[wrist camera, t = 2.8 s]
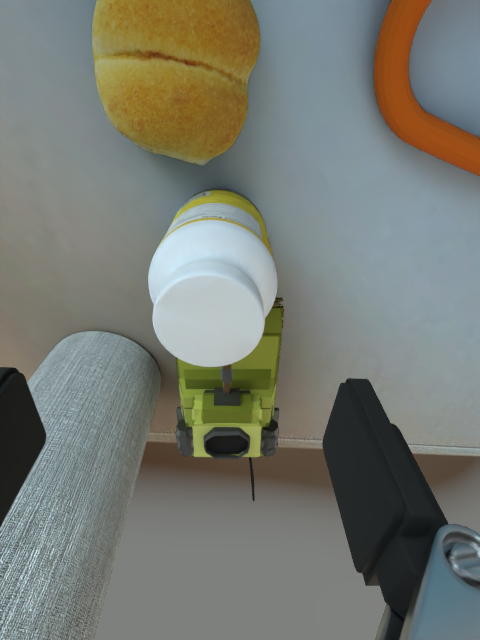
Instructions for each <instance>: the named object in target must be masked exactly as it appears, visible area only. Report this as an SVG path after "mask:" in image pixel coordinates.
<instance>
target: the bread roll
mask: <svg viewBox="0 0 480 640" xmlns="http://www.w3.org/2000/svg"><path fill="white" fill-rule="evenodd" d="M92 46H93V54H94V68H95V78H96V85H97V89H98V93H99V96H100V99H101V102H102V104H103V107H104V110H105V112H106V115H107V116H108V118H109V120H110V122H111V123H112V125H113V126H114V127H115V128H116V129H117V130H118V131H119V132H120V133H121V134H122V135H124V136H125V137H127V138H128V139H130V140H131V141H132V142H133V143H135V144H137V146H138V147H140V148H144V149H146V150H147V151H149V152H153V153H154V154H163V155H166V156H168V157H172V158H176V159H180V160H183V161H186V162H190V163H195V164H198V165H205V164H206V163H207V162H208V161H210V160H211V159H212V158H214V157H217V156H219V155H221V154H222V153H224V152H225V151H226V150H228V149H229V148H230V147H231V146H232V145H233V143H234V142H235V140H236V139H237V137H238V135H239V133H240V131H241V129H242V127H243V125H244V122H245V119H246V114H247V109H248V93H247V86H248V80H249V76H250V74H251V72H252V70H253V68H254V66H255V63H256V61H257V58H258V55H259V49H260V31H259V25H258V20H257V17H256V14H255V11H254V9H253V6H252V4H251V2H250V0H97V2H96V5H95V10H94V16H93V23H92Z"/></svg>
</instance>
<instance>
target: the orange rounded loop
mask: <svg viewBox="0 0 480 640" xmlns="http://www.w3.org/2000/svg"><path fill="white" fill-rule="evenodd" d="M431 1H432V0H392V1H391V3H390V5H389V7H388V10H387V12H386V15H385V17H384V20H383V22H382V26H381V29H380V32H379V36H378V40H377V45H376V50H375V58H374V88H375V95H376V99H377V103H378V106H379V109H380V112H381V114H382V116H383V118H384V120H385V122H386V123H387V125H388V126H389V127H390V129H391V130H392V131H393V132H394V133H395V134H396V135H397V136H398V137H399V138H400V139H402V140H403V141H404V142H406V143H408V144H410V145H412V146H414V147H416V148H418V149H420V150H422V151H424V152H426V153H428V154H431V155H433V156H435V157H437V158H439V159H442V160H444V161H446V162H448V163H450V164H453V165H455V166H457V167H460V168H462V169H464V170H467V171H469V172H471V173H474V174H476V175H478V176H480V138H479V137H477V136H475V135H473V134H470V133H468V132H466V131H464V130H462V129H460V128H458V127H456V126H454V125H452V124H450V123H447V122H445V121H443V120H441V119H439V118H437V117H435V116H434V115H432V114H430V113H428V112H426V111H425V110H424V109H423V108H422V107H421V106H420V105H419V104H418V102H417V101H416V99H415V97H414V95H413V92H412V89H411V85H410V80H409V56H410V50H411V45H412V41H413V38H414V35H415V32H416V29H417V26H418V24H419V22H420V20H421V18H422V16H423V14H424V12H425V10H426V8H427V7H428V5H429V4H430V2H431Z"/></svg>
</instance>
